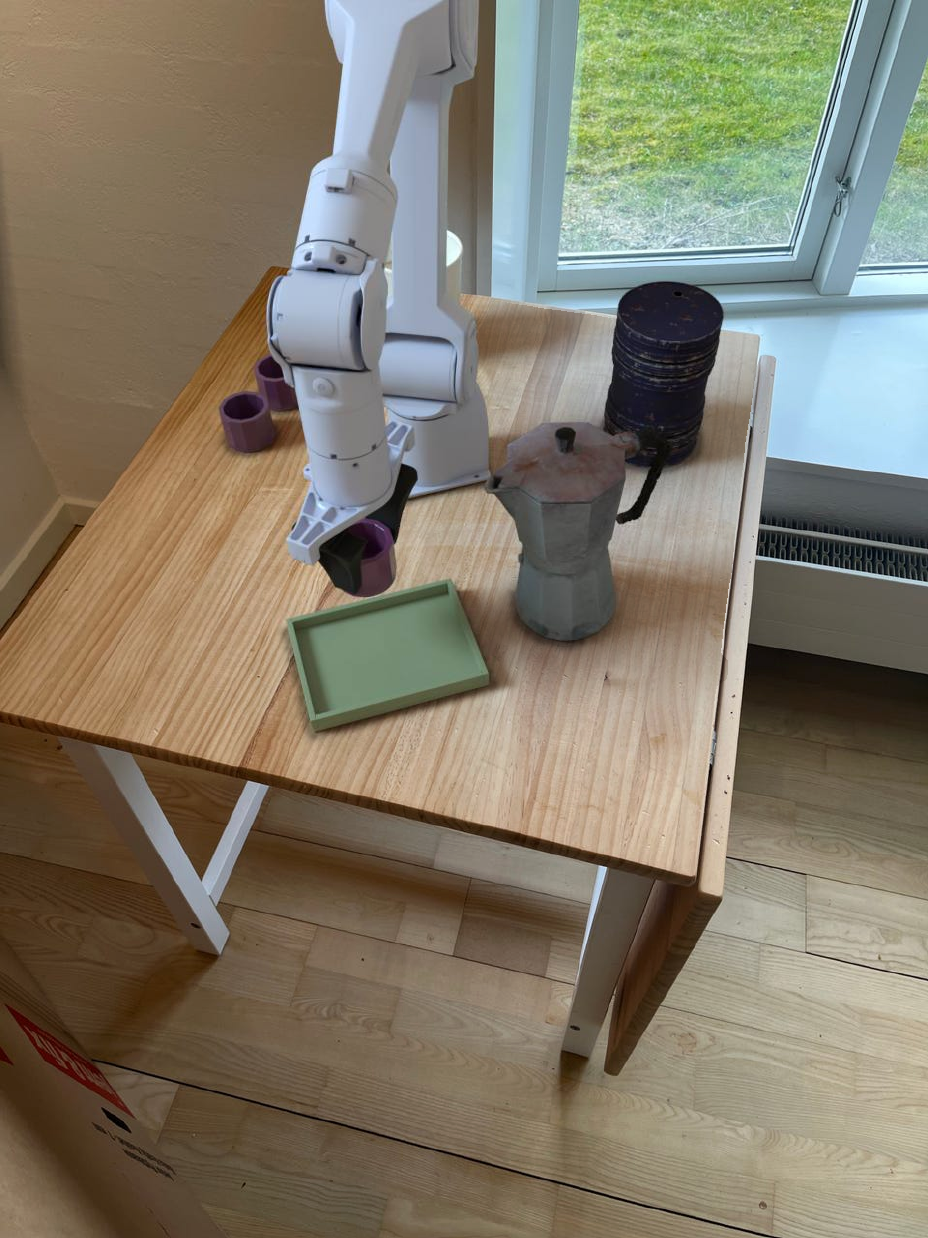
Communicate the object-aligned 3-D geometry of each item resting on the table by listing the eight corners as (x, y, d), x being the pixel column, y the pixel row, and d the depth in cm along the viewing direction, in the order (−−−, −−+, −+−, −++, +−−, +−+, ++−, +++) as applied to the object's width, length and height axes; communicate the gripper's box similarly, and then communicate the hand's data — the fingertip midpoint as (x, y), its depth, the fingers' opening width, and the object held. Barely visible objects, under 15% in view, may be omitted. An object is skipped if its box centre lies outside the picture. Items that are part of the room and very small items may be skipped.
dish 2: (388, 546, 80) (383, 512, 77) (403, 589, 77) (399, 555, 74) (330, 560, 79) (323, 526, 76) (343, 603, 76) (336, 570, 73)
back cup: (302, 378, 106) (296, 348, 103) (310, 405, 103) (305, 375, 100) (257, 387, 105) (250, 357, 102) (265, 415, 102) (258, 385, 99)
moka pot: (467, 591, 86) (461, 416, 70) (617, 539, 89) (643, 362, 74) (512, 669, 80) (516, 498, 65) (669, 610, 84) (710, 435, 68)
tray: (451, 590, 86) (451, 577, 85) (489, 685, 79) (489, 673, 78) (288, 631, 84) (285, 618, 82) (313, 732, 77) (310, 721, 76)
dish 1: (270, 417, 102) (263, 386, 99) (278, 446, 99) (271, 416, 96) (224, 427, 101) (215, 396, 98) (231, 457, 98) (222, 426, 95)
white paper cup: (384, 320, 112) (374, 224, 103) (467, 320, 112) (464, 223, 103) (377, 371, 106) (365, 274, 97) (464, 371, 106) (461, 273, 97)
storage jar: (684, 479, 94) (711, 352, 83) (589, 456, 97) (603, 329, 85) (707, 418, 100) (735, 291, 88) (617, 397, 102) (632, 272, 91)
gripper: (352, 360, 72) (370, 492, 82) (237, 478, 64) (273, 607, 74) (434, 386, 69) (442, 518, 80) (325, 512, 61) (349, 640, 72)
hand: (366, 563), depth 77 cm, fingers closed on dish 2, 5 cm apart
